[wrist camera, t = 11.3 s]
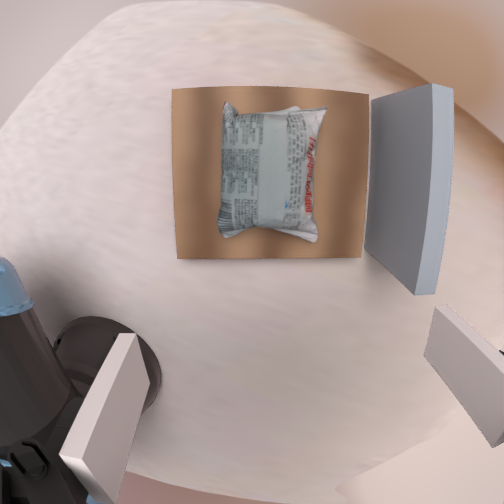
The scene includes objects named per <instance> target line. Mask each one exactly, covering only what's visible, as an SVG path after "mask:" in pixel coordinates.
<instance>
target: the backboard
mask: <svg viewBox="0 0 504 504" xmlns="http://www.w3.org/2000/svg"><path fill="white" fill-rule="evenodd" d="M371 102H372V128H371V165H370V186H369V201H368V214H367V226H366V237H365V247H364V248H365V249H366V250H367V251H368V252H369V253H370V254H371V255H372V256H374V257H375V258H376V259H377V260H378V261H379V262H380V263H381V264H382V265H383V266H384V267H385V268H386V269H387V270H388V271H390V272H391V273H392V274H393V275H394V276H395V277H396V278H397V279H398V280H399V281H400V282H401V283H402V284H403V285H404V286H405V287H406V288H407V289H408V290H409V291H410V292H411V293H412V294H413V295H414V296H415V295H429V294H435V290H436V285H437V280H438V275H439V270H440V265H441V260H442V254H443V248H444V242H445V236H446V229H447V221H448V213H449V205H450V195H451V184H452V170H453V150H454V95H453V89H452V88H449V87H445V86H441V85H438V84H433V83H430V84H426V85H422V86H419V87H415V88H411V89H408V90H404V91H400V92H397V93H393V94H390V95H387V96H383V97H380V98H377V99H373V100H371Z"/></svg>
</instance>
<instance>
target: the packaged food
mask: <svg viewBox="0 0 504 504" xmlns="http://www.w3.org/2000/svg"><path fill="white" fill-rule="evenodd" d="M327 108H328V107H320V108H315V109H305V110H300V108H299V107H297V106H293V107H290V108H287V109H285V110H279V111H272V112H262V113H247V114H241V115H239V114H238V111H237V109H236V108H235V107H234V106H233V105H231V103H230V102H227V101H226V102H224V106H223V117H222V142H221V157H222V159H221V169H222V175H221V190H220V192H221V195H220V196H221V200H220V202H221V206H220V209H219V213H218V217H217V226H218V230H219V232H220V234H222V235H223V237H224V238H228V237H232V236H235V235H238V234H239V233H241V232H243V231H244V230H246V229H248V228H254V227H262V228H273V229H275V230H278V231H281V232H284V233H288V234H291V235H293V236H297V237H300V238H303V239H304V240H308V241H309V242H312V243H314V242H316V240H317V238H318V229H317V225H316V221H315V220H314V218H313V208H314V202H313V197H314V195H313V188H314V187H313V184H314V174H313V173H314V166H315V162H316V158H315V155H316V148H317V142H318V133H319V130H320V127H321V123H322V120H323V118H324V115H325V113H326V111H327Z"/></svg>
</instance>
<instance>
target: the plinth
mask: <svg viewBox="0 0 504 504" xmlns="http://www.w3.org/2000/svg"><path fill="white" fill-rule="evenodd" d="M226 101H227V102H230V103H231V105H233V106H234V107H235V108H236V109H237V111H238V114H239V115H241V114H247V113H262V112H272V111H279V110H285V109H287V108H290V107H293V106H297V107H299V108H300V110H305V109H315V108H320V107H328V108H327V111H326V113H325V115H324V118H323V120H322V123H321V127H320V130H319V133H318V142H317V148H316V155H315V158H316V162H315V166H314V173H313V174H314V184H313V187H314V188H313V195H314V197H313V202H314V208H313V218H314V220H315V221H316V225H317V229H318V238H317V240H316V242H314V243H312V242H309V241H308V240H304V239H303V238H300V237H297V236H293V235H291V234H288V233H284V232H281V231H278V230H275V229H273V228H262V227H254V228H248V229H246V230H244V231H243V232H241V233H239V234H238V235H235V236H232V237H228V238H224V237H223V235H222V234H220V232H219V230H218V226H217V217H218V213H219V209H220V206H221V202H220V200H221V196H220V195H221V192H220V190H221V175H222V169H221V159H222V157H221V142H222V117H223V106H224V102H226ZM368 144H369V94H361V93H353V92H345V91H335V90H324V89H312V88H296V87H271V86H224V87H199V88H183V89H172V167H173V195H174V215H175V232H176V247H177V259H249V258H349V257H361V251H362V241H363V230H364V219H365V206H366V191H367V172H368Z"/></svg>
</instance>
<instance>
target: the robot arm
mask: <svg viewBox="0 0 504 504" xmlns="http://www.w3.org/2000/svg"><path fill="white" fill-rule="evenodd" d="M33 305H34V304H33V301H32V299H31V298H29V297H28V295H27V293H26V291H25V289H24V287H23V285H22V283H21V281H20V278H19V276H18V274H17V272H16V270H15V268H14V266H13V265H12V264H11V263H10V262H9V261H8V260H7V259H5V258H3V257H0V504H117V499H118V495H119V491H120V487H121V483H122V480H123V476H124V472H125V468H126V465H127V461H128V457H129V453H130V450H131V446H132V443H133V439H134V436H135V432H136V429H137V425H138V422H139V418H140V416H141V415H142V414H143V412H144V411H145V410H146V409H147V408H148V407H149V406H150V405H151V404H152V403H153V401H154V399H155V398H156V395H157V392H158V389H159V386H160V382H161V371H160V367H159V363H158V361H157V359H156V357H155V355H154V353H153V352H152V350H151V349H150V347H149V346H148V345H147V344H146V343H145V342H144V341H143V340H142V339H141V338H140V337H139V336H138V335H137V334H136V333H134V332H133V331H132V330H130V329H129V328H127V327H125V326H123V325H122V324H120V323H117V322H115V321H112V320H110V319H106V318H102V317H93V316H89V317H82V318H78V319H76V320H73V321H72V322H70V323H69V324H68V325H67V326H66V327H65V328H64V329H63V330H62V332H61V333H60V334H59V335H58V337H57V339H56V341H55V343H54V347H53V348H52V346H51V344H50V342H49V340H48V338H47V336H46V335H45V333H44V331H43V329H42V326H41V324H40V322H39V320H38V318H37V316H36V314H35V311H34V309H33ZM424 357H425V358H426V359H427V360H428V362H429V363H430V364H431V365H432V367H433V368H434V369H435V371H436V372H437V373H438V374H439V376H440V377H441V378H442V380H443V381H444V382H445V384H446V385H447V386H448V387H449V389H450V390H451V391H452V393H453V394H454V395H455V397H456V398H457V399H458V401H459V402H460V403H461V405H462V406H463V407H464V409H465V410H466V411H467V413H468V414H469V416H470V417H471V418H472V420H473V421H474V422H475V424H476V425H477V427H478V428H479V430H480V431H481V432H482V434H483V435H484V437H485V438H486V440H487V441H488V442H489V444H490V445H491V447H492V448H494V447H496V446H498V445H500V444H501V443H503V442H504V352H502V351H501V350H499V351H498V350H497V349H496V348H495V347H494V346H493V345H492V344H491V343H490V342H489V341H488V340H487V339H486V338H484V337H483V336H482V335H481V334H480V333H479V332H478V331H477V330H476V329H475V328H473V327H472V326H471V325H470V324H469V323H468V322H467V321H466V320H465V319H463V318H462V317H461V316H460V315H459V314H458V313H457V312H455V311H454V310H453V309H452V308H451V307H450V306H449V305H442V306H437V307H435V309H434V314H433V319H432V323H431V328H430V332H429V336H428V340H427V344H426V348H425V352H424Z"/></svg>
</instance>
